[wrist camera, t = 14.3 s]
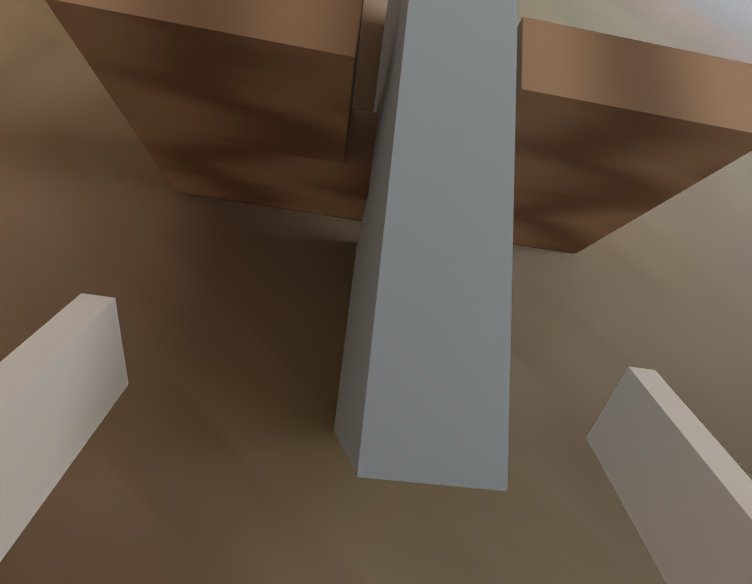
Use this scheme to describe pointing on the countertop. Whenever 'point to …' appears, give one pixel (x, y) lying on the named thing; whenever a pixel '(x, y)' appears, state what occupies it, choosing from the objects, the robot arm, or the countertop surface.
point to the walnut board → (358, 127)
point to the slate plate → (436, 253)
